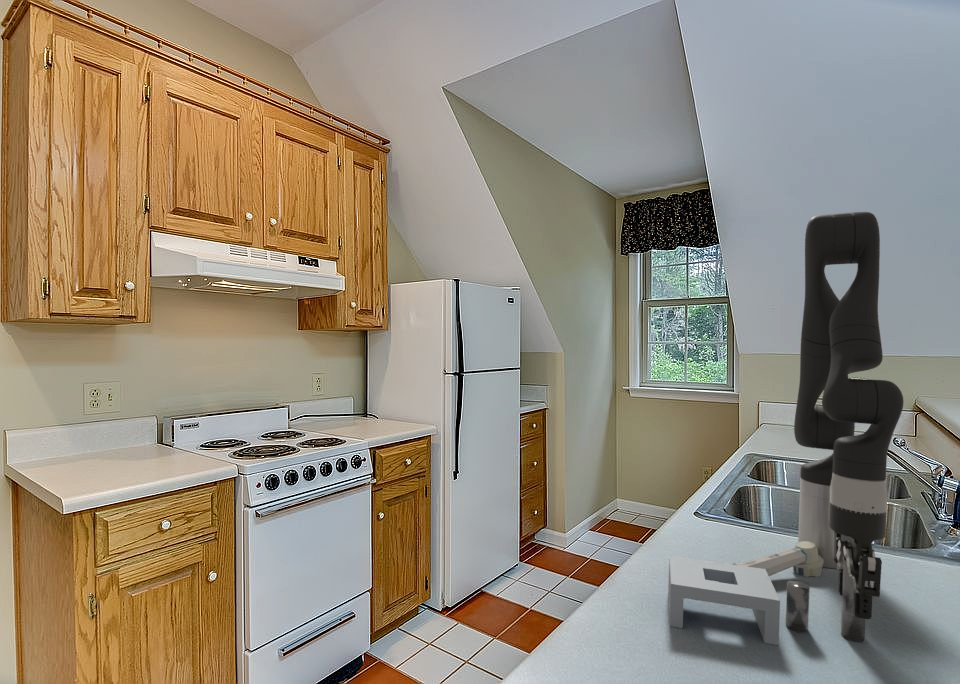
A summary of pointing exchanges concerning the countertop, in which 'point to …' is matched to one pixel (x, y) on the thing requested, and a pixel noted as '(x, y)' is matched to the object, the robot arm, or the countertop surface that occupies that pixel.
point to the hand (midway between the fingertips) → (853, 605)
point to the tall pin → (850, 611)
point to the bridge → (724, 591)
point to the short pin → (797, 606)
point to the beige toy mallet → (791, 561)
